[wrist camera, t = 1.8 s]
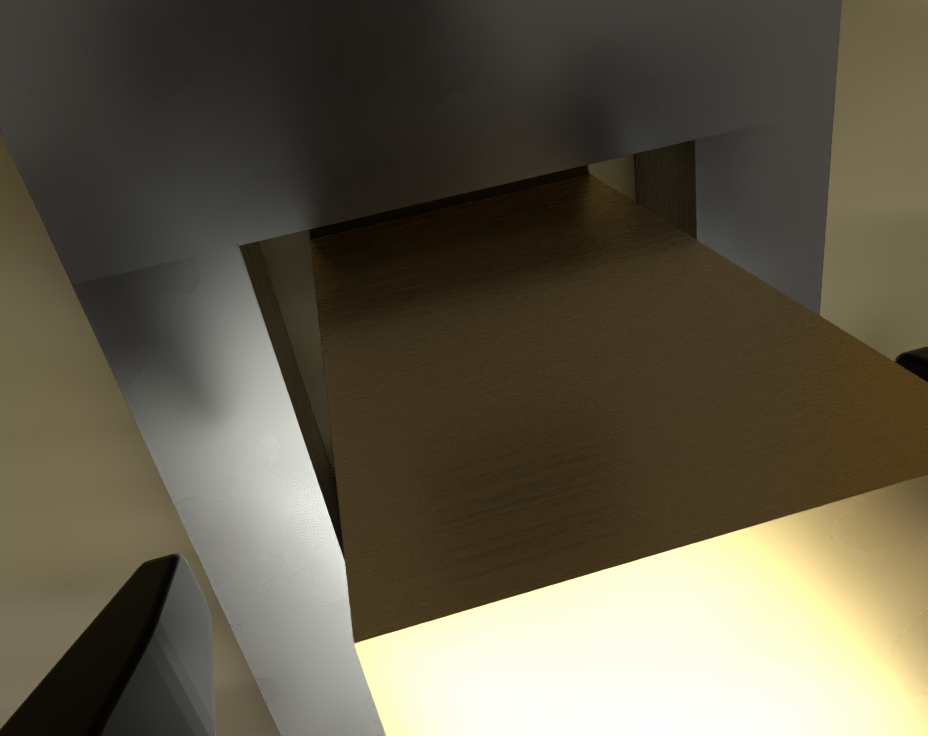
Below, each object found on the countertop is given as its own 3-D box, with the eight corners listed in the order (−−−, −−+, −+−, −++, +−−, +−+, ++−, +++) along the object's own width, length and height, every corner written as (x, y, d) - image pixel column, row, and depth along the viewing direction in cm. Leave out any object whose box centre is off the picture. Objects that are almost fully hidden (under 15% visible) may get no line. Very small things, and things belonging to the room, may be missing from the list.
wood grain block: (589, 173, 12) (1028, 444, 5) (610, 410, 14) (934, 831, 7) (310, 239, 11) (353, 641, 4) (376, 473, 14) (476, 992, 7)
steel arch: (764, -564, 8) (898, -718, 6) (742, 648, 18) (794, 723, 16) (-184, -446, 7) (-338, -589, 5) (335, 776, 17) (342, 872, 15)
